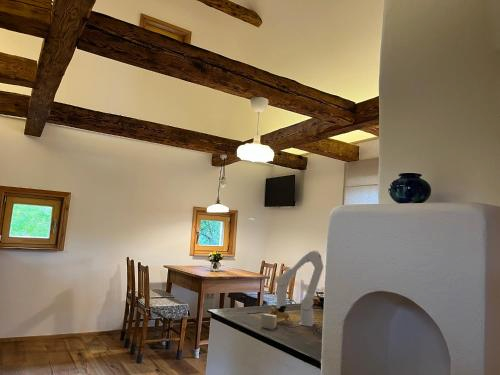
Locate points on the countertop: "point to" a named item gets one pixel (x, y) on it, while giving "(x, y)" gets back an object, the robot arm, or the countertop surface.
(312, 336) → the countertop surface
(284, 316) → the lion figurine
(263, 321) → the book row
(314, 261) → the robot arm
